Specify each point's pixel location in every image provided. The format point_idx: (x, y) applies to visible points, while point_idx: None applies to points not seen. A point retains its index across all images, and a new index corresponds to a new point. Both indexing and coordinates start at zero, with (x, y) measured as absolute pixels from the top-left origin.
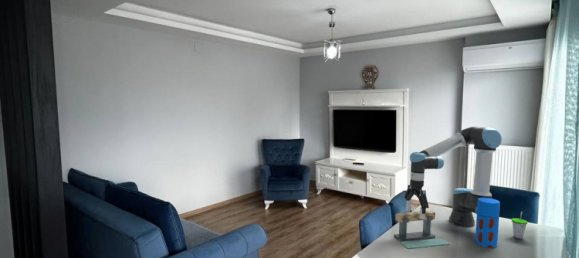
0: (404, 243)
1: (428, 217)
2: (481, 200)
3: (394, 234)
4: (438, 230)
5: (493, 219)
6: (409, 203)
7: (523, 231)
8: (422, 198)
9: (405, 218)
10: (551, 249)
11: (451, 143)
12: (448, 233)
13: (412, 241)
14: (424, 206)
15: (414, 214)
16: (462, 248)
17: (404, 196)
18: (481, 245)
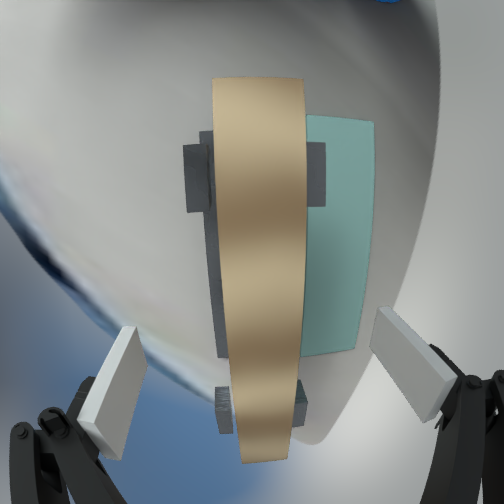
0: (315, 346)
1: (321, 205)
2: None
3: (219, 356)
4: (176, 45)
5: None
6: (115, 408)
7: None
8: (495, 494)
9: (300, 418)
10: None
11: None
12: (232, 18)
13: (307, 303)
14: (486, 419)
15: (297, 374)
16: (410, 96)
17: (45, 471)
18: (388, 2)
